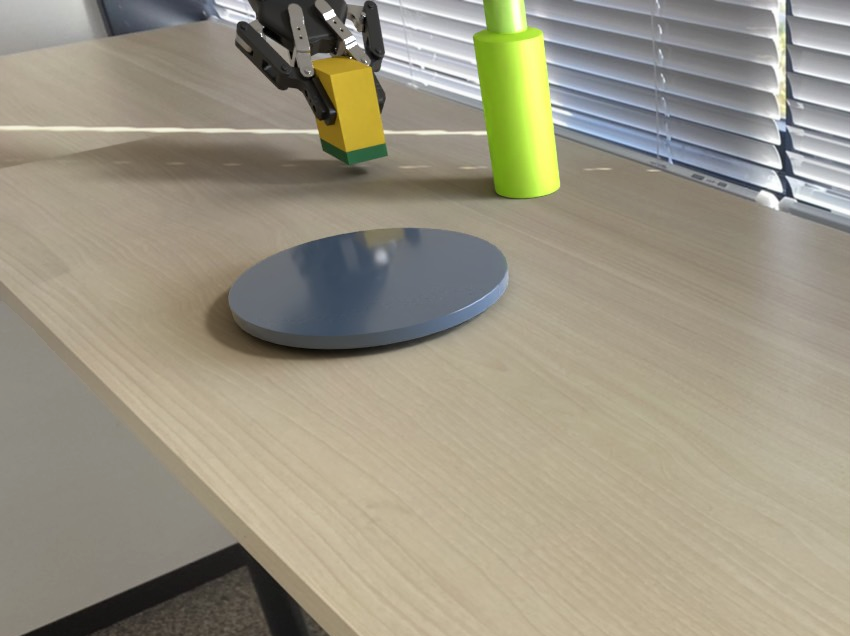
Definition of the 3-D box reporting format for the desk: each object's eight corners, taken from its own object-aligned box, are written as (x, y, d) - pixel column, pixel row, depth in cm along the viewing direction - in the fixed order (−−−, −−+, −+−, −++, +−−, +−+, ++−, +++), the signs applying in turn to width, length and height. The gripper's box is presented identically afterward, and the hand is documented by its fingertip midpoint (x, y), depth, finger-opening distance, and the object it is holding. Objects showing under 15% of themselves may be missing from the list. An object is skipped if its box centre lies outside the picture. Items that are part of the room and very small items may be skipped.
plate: (365, 383, 75) (360, 361, 74) (175, 317, 84) (168, 296, 83) (565, 277, 89) (562, 257, 88) (382, 230, 98) (378, 211, 97)
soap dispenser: (507, 206, 102) (471, -48, 90) (488, 183, 107) (451, -60, 95) (571, 195, 103) (544, -54, 92) (549, 173, 109) (521, -66, 97)
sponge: (348, 165, 107) (329, 75, 102) (322, 150, 110) (302, 62, 106) (388, 155, 109) (371, 66, 104) (361, 141, 112) (343, 54, 108)
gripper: (193, -68, 100) (286, 106, 99) (347, -86, 107) (434, 75, 107) (189, -9, 106) (277, 155, 106) (335, -30, 113) (417, 122, 113)
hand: (356, 114), depth 106 cm, fingers closed on sponge, 4 cm apart
